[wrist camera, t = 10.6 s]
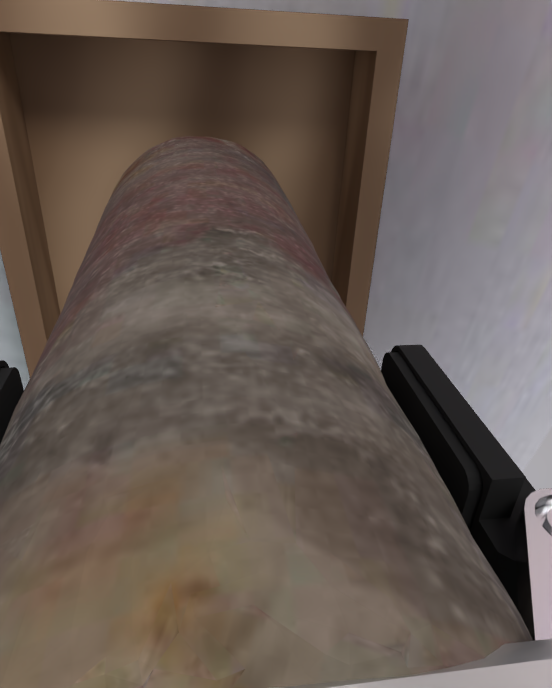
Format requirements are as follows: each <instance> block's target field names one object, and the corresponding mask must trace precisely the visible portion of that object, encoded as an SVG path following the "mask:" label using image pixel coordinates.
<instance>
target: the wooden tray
mask: <svg viewBox="0 0 552 688" xmlns="http://www.w3.org/2000/svg"><path fill="white" fill-rule="evenodd" d="M408 20H409V19H396V18H380V17H364V16H348V15H332V14H316V13H300V12H284V11H268V10H252V9H236V8H220V7H204V6H188V5H172V4H156V3H140V2H124V1H108V0H0V250H1V254H2V259H3V263H4V267H5V272H6V276H7V280H8V285H9V289H10V293H11V298H12V302H13V306H14V311H15V315H16V319H17V324H18V328H19V332H20V336H21V341H22V345H23V349H24V354H25V358H26V362H27V367H28V371H29V375H30V378H31V376H32V374H33V372H34V370H35V367H36V365H37V363H38V361H39V359H40V357H41V355H42V352H43V350H44V348H45V346H46V343H47V341H48V339H49V337H50V335H51V333H52V330H53V328H54V326H55V324H56V322H57V320H58V318H59V316H60V314H61V312H62V310H63V307H64V305H65V302H66V299H67V297H68V294H69V292H70V289H71V287H72V285H73V282H74V279H75V277H76V274H77V272H78V270H79V268H80V266H81V264H82V261H83V259H84V257H85V254H86V252H87V249H88V247H89V245H90V243H91V241H92V239H93V236H94V234H95V231H96V229H97V226H98V223H99V221H100V219H101V216H102V214H103V212H104V209H105V207H106V205H107V203H108V201H109V199H110V197H111V195H112V192H113V190H114V188H115V186H116V184H117V182H118V181H119V180H120V178H121V176H122V174H123V173H124V172H125V171H126V170H127V168H128V167H129V166H130V165H131V164H132V163H133V162H134V161H135V160H136V159H137V158H139V157H140V156H141V155H142V154H143V153H144V152H146V151H147V150H148V149H150V148H152V147H154V146H156V145H158V144H161V143H163V142H165V141H167V140H170V139H172V138H176V137H184V136H198V137H213V138H218V139H222V140H227V141H232V142H235V143H237V144H239V145H241V146H243V147H245V148H247V149H248V150H249V151H251V152H252V153H254V154H255V155H256V156H257V157H258V158H260V159H261V160H262V161H263V162H264V164H265V165H266V166H267V167H268V169H269V170H270V171H271V172H272V174H273V175H274V177H275V178H276V180H277V181H278V183H279V185H280V187H281V188H282V190H283V192H284V193H285V195H286V197H287V198H288V200H289V202H290V204H291V205H292V207H293V209H294V211H295V213H296V215H297V217H298V219H299V221H300V223H301V224H302V226H303V228H304V230H305V232H306V233H307V235H308V237H309V239H310V240H311V242H312V244H313V246H314V249H315V251H316V253H317V255H318V257H319V259H320V261H321V263H322V265H323V267H324V269H325V271H326V273H327V275H328V277H329V279H330V281H331V283H332V284H333V286H334V287H335V289H336V290H337V292H338V294H339V296H340V298H341V300H342V302H343V303H344V305H345V307H346V308H347V310H348V311H349V313H350V315H351V316H352V318H353V319H354V321H355V323H356V325H357V327H358V329H359V331H360V333H361V335H362V336H363V332H364V325H365V318H366V311H367V304H368V297H369V290H370V283H371V277H372V270H373V263H374V256H375V249H376V242H377V235H378V228H379V221H380V214H381V207H382V200H383V193H384V186H385V180H386V173H387V166H388V159H389V152H390V145H391V138H392V131H393V124H394V117H395V110H396V103H397V96H398V89H399V82H400V76H401V69H402V62H403V55H404V48H405V41H406V34H407V27H408Z"/></svg>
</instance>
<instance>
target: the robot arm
mask: <svg viewBox="0 0 552 688" xmlns="http://www.w3.org/2000/svg"><path fill="white" fill-rule="evenodd" d="M381 373H382V375H383V378H384V380H385V383H386V385H387V387H388V388H389V390H390V392H391V393H392V395H393V396H394V398H395V400H396V401H397V403H398V405H399V406H400V408H401V409H402V411H403V412H404V414H405V416H406V417H407V419H408V420H409V422H410V423H411V425H412V427H413V428H414V430H415V431H416V433H417V434H418V436H419V438H420V440H421V442H422V443H423V445H424V447H425V449H426V451H427V452H428V454H429V456H430V458H431V460H432V461H433V463H434V465H435V467H436V469H437V471H438V473H439V475H440V477H441V478H442V480H443V482H444V483H445V485H446V487H447V489H448V490H449V492H450V494H451V496H452V498H453V499H454V501H455V503H456V505H457V507H458V509H459V511H460V513H461V515H462V517H463V519H464V521H465V523H466V525H467V527H468V529H469V531H470V533H471V535H472V537H473V539H474V540H475V542H476V544H477V545H478V547H479V548H480V550H481V552H482V553H483V555H484V556H485V558H486V559H487V561H488V563H489V564H490V566H491V567H492V569H493V571H494V572H495V574H496V575H497V577H498V578H499V580H500V582H501V583H502V585H503V586H504V588H505V590H506V591H507V593H508V595H509V596H510V598H511V600H512V601H513V603H514V605H515V606H516V608H517V610H518V611H519V613H520V615H521V617H522V619H523V621H524V623H525V625H526V627H527V629H528V631H529V633H530V635H531V637H532V639H533V641H526V642H517V643H508V644H504V645H502V646H501V647H500V648H499V649H497V650H496V651H494V652H492V653H491V654H489V655H488V656H487V657H486V658H484V659H480V660H476V661H472V662H469V663H465V664H461V665H457V666H454V667H450V668H444V669H439V670H434V671H430V672H425V673H420V674H415V675H407V676H397V677H382V678H369V679H357V680H345V681H335V682H324V683H315V684H307V685H297V686H285V687H273V688H552V488H546V489H539V490H537V491H536V490H535V489H534V488H533V487H532V485H531V484H530V483H529V481H528V480H527V479H526V477H525V476H524V474H523V473H522V472H521V470H520V469H519V468H518V467H517V465H516V464H515V463H514V462H513V460H512V459H511V458H510V456H509V455H508V454H507V453H506V451H505V450H504V449H503V447H502V446H501V445H500V444H499V442H498V441H497V440H496V439H495V437H494V436H493V435H492V433H491V432H490V431H489V430H488V428H487V427H486V426H485V424H484V423H483V422H482V421H481V419H480V418H479V417H478V416H477V414H476V413H475V412H474V410H473V409H472V408H471V407H470V405H469V404H468V403H467V401H466V400H465V399H464V398H463V396H462V395H461V394H460V392H459V391H458V390H457V389H456V387H455V386H454V385H453V384H452V382H451V381H450V380H449V378H448V377H447V376H446V375H445V373H444V372H443V371H442V369H441V368H440V367H439V366H438V364H437V363H436V362H435V361H434V359H433V358H432V357H431V355H430V354H429V353H428V352H427V350H426V349H425V348H424V347H423V346H422V345H400V346H394V347H393V349H392V351H391V352H390V353H386V354H385V355H384V358H383V363H382V368H381ZM23 392H24V390H23V386H22V382H21V378H20V374H19V371H18V369H17V368H15V367H13V368H9V366H8V364H7V363H6V362H5V361H4V360H3V361H0V444H1V442H2V439H3V437H4V434H5V432H6V429H7V427H8V424H9V422H10V420H11V417H12V415H13V412H14V410H15V407H16V405H17V404H18V402H19V400H20V398H21V396H22V394H23Z"/></svg>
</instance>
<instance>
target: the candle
mask: <svg viewBox="0 0 552 688" xmlns="http://www.w3.org/2000/svg"><path fill="white" fill-rule="evenodd" d="M526 641H533V639H532V637H531V635H530V633H529V631H528V629H527V627H526V625H525V623H524V621H523V619H522V617H521V615H520V613H519V611H518V610H517V608H516V606H515V605H514V603H513V601H512V600H511V598H510V596H509V595H508V593H507V591H506V590H505V588H504V586H503V585H502V583H501V582H500V580H499V578H498V577H497V575H496V574H495V572H494V571H493V569H492V567H491V566H490V564H489V563H488V561H487V559H486V558H485V556H484V555H483V553H482V552H481V550H480V548H479V547H478V545H477V544H476V542H475V540H474V539H473V537H472V535H471V533H470V531H469V529H468V527H467V525H466V523H465V521H464V519H463V517H462V515H461V513H460V511H459V509H458V507H457V505H456V503H455V501H454V499H453V498H452V496H451V494H450V492H449V490H448V489H447V487H446V485H445V483H444V482H443V480H442V478H441V477H440V475H439V473H438V471H437V469H436V467H435V465H434V463H433V461H432V460H431V458H430V456H429V454H428V452H427V451H426V449H425V447H424V445H423V443H422V442H421V440H420V438H419V436H418V434H417V433H416V431H415V430H414V428H413V427H412V425H411V423H410V422H409V420H408V419H407V417H406V416H405V414H404V412H403V411H402V409H401V408H400V406H399V405H398V403H397V401H396V400H395V398H394V396H393V395H392V393H391V392H390V390H389V388H388V387H387V385H386V383H385V380H384V378H383V375H382V373H381V370H380V368H379V366H378V364H377V362H376V360H375V358H374V356H373V354H372V352H371V351H370V349H369V347H368V345H367V343H366V342H365V340H364V338H363V336H362V335H361V333H360V331H359V329H358V327H357V325H356V323H355V321H354V319H353V318H352V316H351V315H350V313H349V311H348V310H347V308H346V307H345V305H344V303H343V302H342V300H341V298H340V296H339V294H338V292H337V290H336V289H335V287H334V286H333V284H332V283H331V281H330V279H329V277H328V275H327V273H326V271H325V269H324V267H323V265H322V263H321V261H320V259H319V257H318V255H317V253H316V251H315V249H314V246H313V244H312V242H311V240H310V239H309V237H308V235H307V233H306V232H305V230H304V228H303V226H302V224H301V223H300V221H299V219H298V217H297V215H296V213H295V211H294V209H293V207H292V205H291V204H290V202H289V200H288V198H287V197H286V195H285V193H284V192H283V190H282V188H281V187H280V185H279V183H278V181H277V180H276V178H275V177H274V175H273V174H272V172H271V171H270V170H269V169H268V167H267V166H266V165H265V164H264V162H263V161H262V160H261V159H260V158H258V157H257V156H256V155H255V154H254V153H252V152H251V151H249V150H248V149H247V148H245V147H243V146H241V145H239V144H237V143H235V142H232V141H227V140H222V139H218V138H213V137H198V136H184V137H176V138H172V139H170V140H167V141H165V142H163V143H161V144H158V145H156V146H154V147H152V148H150V149H148V150H147V151H146V152H144V153H143V154H142V155H141V156H140V157H139V158H137V159H136V160H135V161H134V162H133V163H132V164H131V165H130V166H129V167H128V168H127V170H126V171H125V172H124V173H123V174H122V176H121V178H120V180H119V181H118V182H117V184H116V186H115V188H114V190H113V192H112V195H111V197H110V199H109V201H108V203H107V205H106V207H105V209H104V212H103V214H102V216H101V219H100V221H99V223H98V226H97V229H96V231H95V234H94V236H93V239H92V241H91V243H90V245H89V247H88V249H87V252H86V254H85V257H84V259H83V261H82V264H81V266H80V268H79V270H78V272H77V274H76V277H75V279H74V282H73V285H72V287H71V289H70V292H69V294H68V297H67V299H66V302H65V305H64V307H63V310H62V312H61V314H60V316H59V318H58V320H57V322H56V324H55V326H54V328H53V330H52V333H51V335H50V337H49V339H48V341H47V343H46V346H45V348H44V350H43V352H42V355H41V357H40V359H39V361H38V363H37V365H36V367H35V370H34V372H33V374H32V376H31V378H30V380H29V382H28V384H27V386H26V388H25V390H24V392H23V394H22V396H21V398H20V400H19V402H18V404H17V405H16V407H15V410H14V412H13V415H12V417H11V420H10V422H9V424H8V427H7V429H6V432H5V434H4V437H3V439H2V442H1V444H0V688H273V687H285V686H297V685H307V684H315V683H324V682H335V681H345V680H357V679H369V678H382V677H397V676H407V675H415V674H420V673H425V672H430V671H434V670H439V669H444V668H450V667H454V666H457V665H461V664H465V663H469V662H472V661H476V660H480V659H484V658H486V657H487V656H488V655H489V654H491V653H492V652H494V651H496V650H497V649H499V648H500V647H501V646H502V645H504V644H508V643H517V642H526Z"/></svg>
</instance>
